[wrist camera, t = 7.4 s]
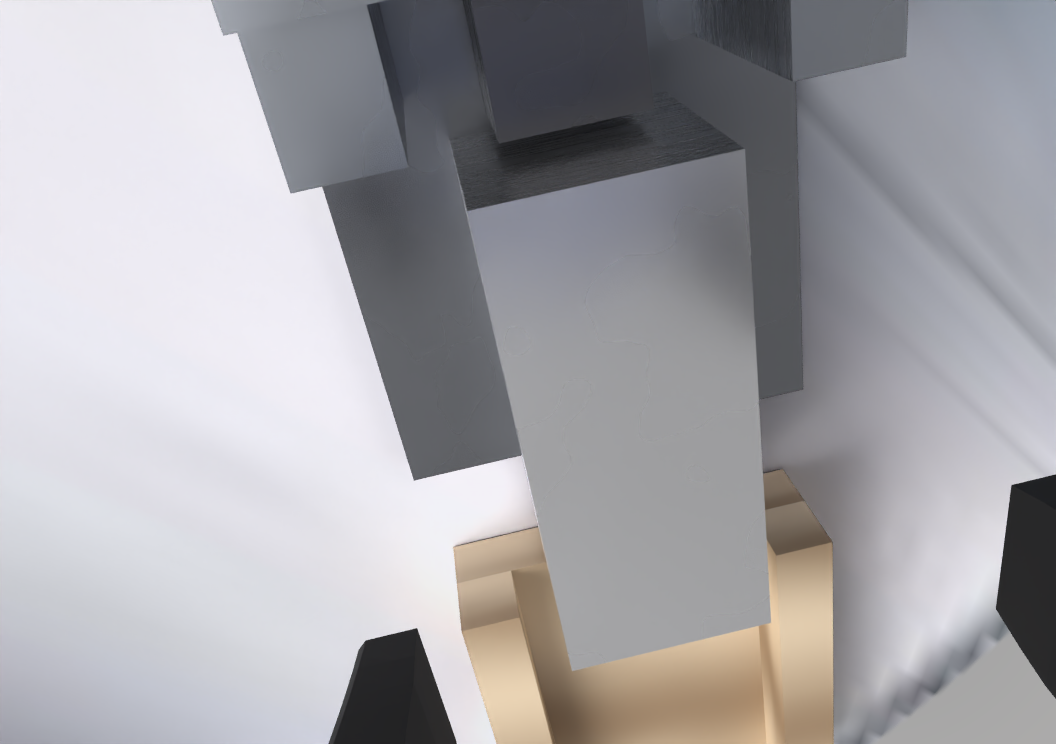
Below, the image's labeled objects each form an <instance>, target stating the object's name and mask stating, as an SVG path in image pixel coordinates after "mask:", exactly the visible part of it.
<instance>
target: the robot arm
mask: <svg viewBox="0 0 1056 744" xmlns="http://www.w3.org/2000/svg"><path fill="white" fill-rule="evenodd" d="M996 610H997V611H998V613H999V615H1000V616H1001V618H1002V619H1003V621H1004V623H1005V624H1006V626H1007V627H1008V629H1009V631H1010V632H1011V634H1012V635H1013V637H1014V639H1015V640H1016V642H1017V643H1018V645H1019V647H1020V648H1021V650H1022V651H1023V653H1024V654H1025V656H1026V657H1027V659H1028V660H1029V662H1030V663H1031V665H1032V666H1033V668H1034V669H1035V671H1036V672H1037V674H1038V675H1039V677H1040V678H1041V680H1042V681H1043V683H1044V684H1045V686H1046V687H1047V688H1048V689H1049V691H1050V692H1051V693H1052V695H1053V696H1054V697H1055V698H1056V475H1052V476H1048V477H1043V478H1039V479H1035V480H1031V481H1027V482H1023V483H1019V484H1014V485H1012V486H1011V494H1010V502H1009V510H1008V518H1007V525H1006V533H1005V541H1004V549H1003V557H1002V565H1001V573H1000V581H999V588H998V596H997V604H996ZM329 744H457V743H456V739H455V736H454V733H453V730H452V728H451V725H450V722H449V719H448V716H447V713H446V710H445V707H444V704H443V702H442V699H441V696H440V693H439V690H438V687H437V684H436V681H435V679H434V676H433V673H432V670H431V667H430V664H429V661H428V658H427V656H426V653H425V650H424V647H423V644H422V641H421V638H420V635H419V633H418V630H417V628H416V629H412V630H408V631H404V632H399V633H395V634H391V635H387V636H383V637H379V638H375V639H370V640H366V641H365V642H364V644H363V645H362V646H361V648H360V649H359V651H358V654H357V658H356V662H355V665H354V669H353V672H352V675H351V678H350V682H349V685H348V688H347V691H346V694H345V697H344V701H343V704H342V707H341V710H340V713H339V716H338V718H337V721H336V724H335V727H334V730H333V733H332V735H331V738H330V741H329Z"/></svg>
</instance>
